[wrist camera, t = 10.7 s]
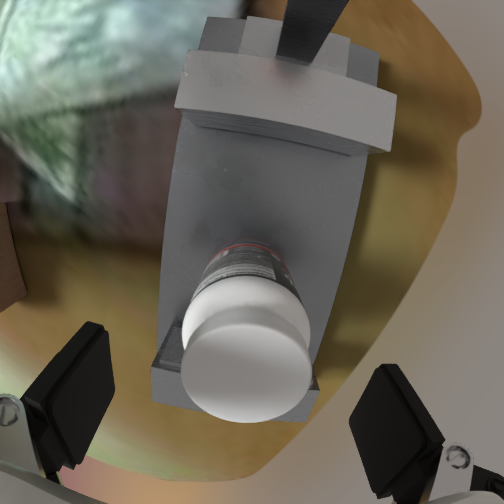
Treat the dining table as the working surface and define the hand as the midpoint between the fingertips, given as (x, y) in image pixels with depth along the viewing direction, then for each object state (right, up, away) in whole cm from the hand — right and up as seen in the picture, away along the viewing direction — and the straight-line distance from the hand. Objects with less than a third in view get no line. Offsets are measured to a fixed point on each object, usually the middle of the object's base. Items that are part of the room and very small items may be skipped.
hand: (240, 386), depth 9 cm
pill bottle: (0, +2, +10) cm, 11 cm away
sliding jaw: (+3, +15, +7) cm, 16 cm away
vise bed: (+1, +7, +10) cm, 12 cm away
